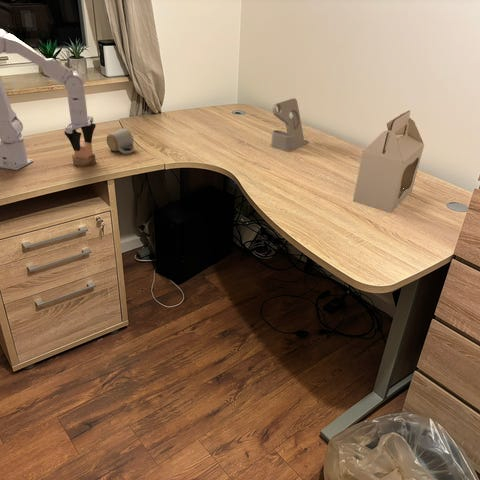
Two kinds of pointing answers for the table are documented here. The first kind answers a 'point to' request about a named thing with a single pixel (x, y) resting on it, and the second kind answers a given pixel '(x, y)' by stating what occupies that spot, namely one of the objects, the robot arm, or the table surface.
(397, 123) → the gable box
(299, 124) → the phone holder
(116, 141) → the ceramic mug
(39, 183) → the table surface
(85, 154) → the cube
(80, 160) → the pedestal
